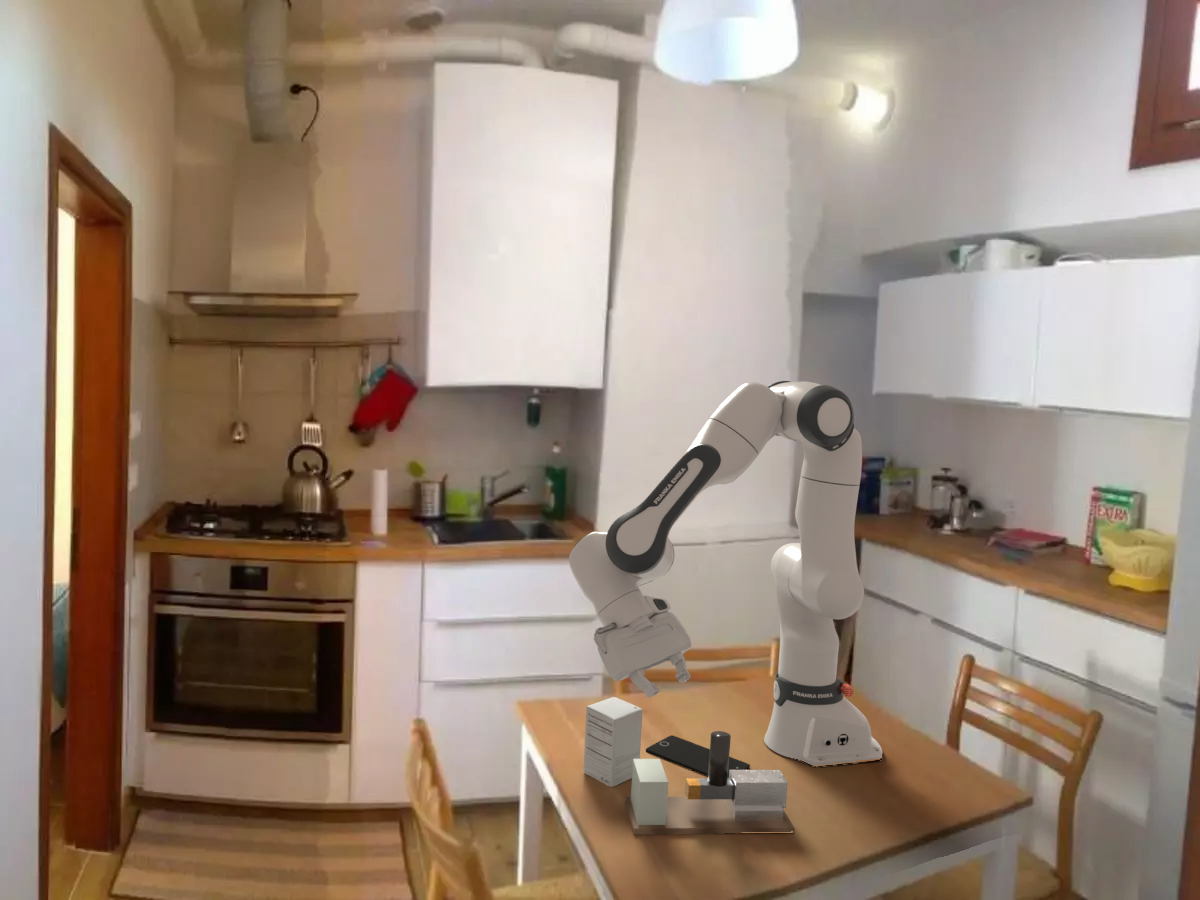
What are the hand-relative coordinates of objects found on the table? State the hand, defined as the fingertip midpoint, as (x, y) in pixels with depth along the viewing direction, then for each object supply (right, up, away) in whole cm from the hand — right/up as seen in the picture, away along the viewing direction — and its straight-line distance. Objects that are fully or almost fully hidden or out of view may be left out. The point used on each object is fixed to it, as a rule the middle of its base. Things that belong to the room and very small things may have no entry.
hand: (670, 687), depth 156 cm
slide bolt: (+10, -17, -4) cm, 20 cm away
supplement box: (-10, -18, +9) cm, 22 cm away
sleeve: (+14, -20, -3) cm, 24 cm away
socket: (-4, -19, -5) cm, 20 cm away
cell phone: (+6, -18, +17) cm, 26 cm away
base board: (+6, -20, -4) cm, 21 cm away
